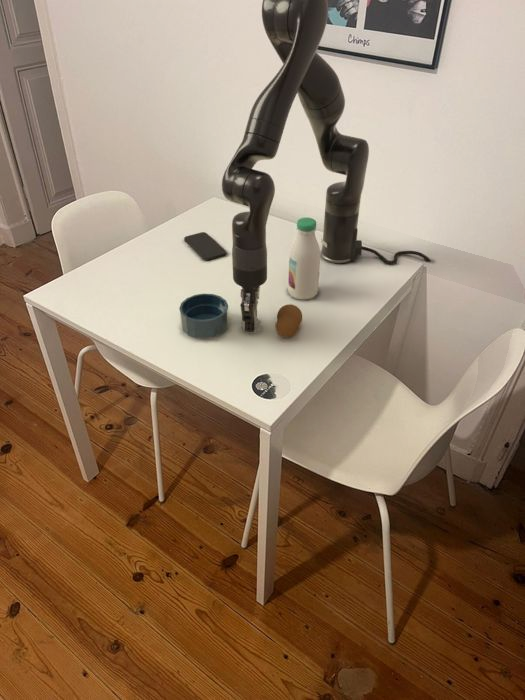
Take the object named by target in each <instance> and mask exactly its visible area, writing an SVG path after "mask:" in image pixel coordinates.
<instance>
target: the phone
mask: <svg viewBox="0 0 525 700" xmlns="http://www.w3.org/2000/svg"><path fill="white" fill-rule="evenodd" d="M183 241H184V242H185V243H186V244H187V245H188V246H189V247H190V248H191V249H192V250H193V251H194V252H195V253H196V254H197V255H198V256H199V257H200V258H201V259H202V260H203V261H211V260H213V259H217V258H221V257H224V256H226V255H227V250H225V248H223V247H222V246H221V245H220V244H219V243H218V242H217V241H216V240H215V239H214V238H213V237H211V236H210V235H209V234H208V233H207V232H205V231H202V232H201V231H200V232H197V233H193V234H190V235H187V236H184V237H183Z"/></svg>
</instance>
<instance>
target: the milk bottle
mask: <svg viewBox="0 0 525 700" xmlns="http://www.w3.org/2000/svg"><path fill="white" fill-rule="evenodd" d="M296 231H297V232H296V236H295V238H294V240H293V242H292V244H291V246H290V250H289V259H288V283H287V284H288V285H287V286H288V288H287V290H288V294H289V295H290V296H291V297H292V298H294V299H297V300H310V299H313V298H315V297H316V296H317V294H318V293H319V284H320V283H319V281H320V268H321V247H320V245H319V242H318V240H317V237H316V231H317V221H316V220H315V219H314V218H312V217H301V218H299V219H298V220H297V221H296Z"/></svg>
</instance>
